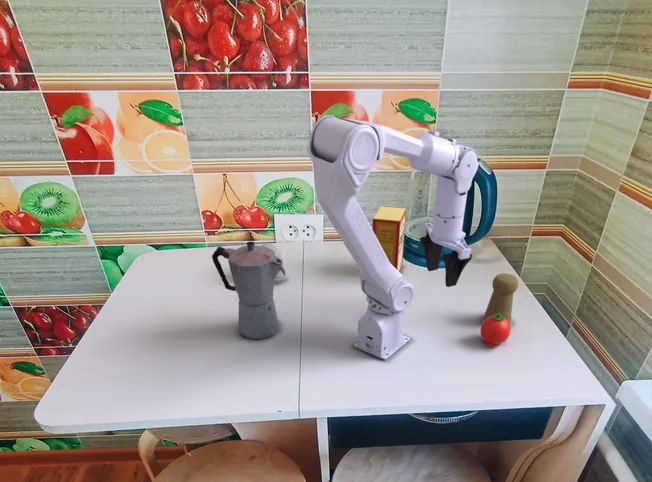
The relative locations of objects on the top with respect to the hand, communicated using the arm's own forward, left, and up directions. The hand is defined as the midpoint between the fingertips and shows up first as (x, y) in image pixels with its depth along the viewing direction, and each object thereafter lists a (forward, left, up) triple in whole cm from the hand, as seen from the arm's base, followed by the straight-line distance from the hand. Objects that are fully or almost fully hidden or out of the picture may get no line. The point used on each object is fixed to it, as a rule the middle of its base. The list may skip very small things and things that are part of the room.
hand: (441, 277), depth 98 cm
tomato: (0, -14, -10) cm, 17 cm away
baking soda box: (+13, +22, -11) cm, 28 cm away
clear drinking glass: (-8, +45, -11) cm, 47 cm away
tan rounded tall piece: (+8, -11, -11) cm, 17 cm away
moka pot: (-27, +29, -11) cm, 41 cm away
